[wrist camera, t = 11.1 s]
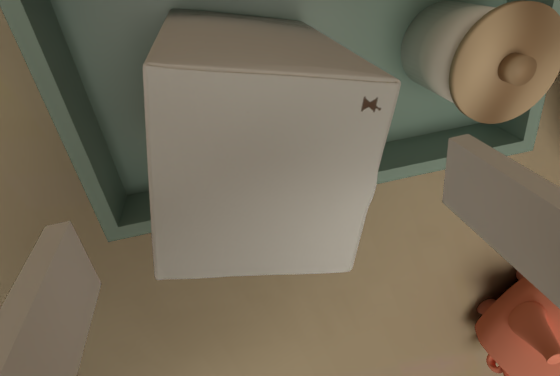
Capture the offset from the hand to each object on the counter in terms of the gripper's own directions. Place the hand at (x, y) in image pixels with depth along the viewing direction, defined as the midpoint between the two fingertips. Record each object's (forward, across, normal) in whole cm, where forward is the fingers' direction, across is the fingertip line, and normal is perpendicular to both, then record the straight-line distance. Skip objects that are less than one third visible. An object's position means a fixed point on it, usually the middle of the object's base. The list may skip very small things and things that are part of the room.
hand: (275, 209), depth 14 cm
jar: (+16, +16, 0) cm, 22 cm away
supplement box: (+16, 0, 0) cm, 16 cm away
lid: (+9, +16, 0) cm, 18 cm away
